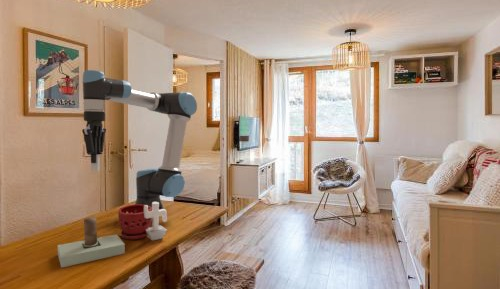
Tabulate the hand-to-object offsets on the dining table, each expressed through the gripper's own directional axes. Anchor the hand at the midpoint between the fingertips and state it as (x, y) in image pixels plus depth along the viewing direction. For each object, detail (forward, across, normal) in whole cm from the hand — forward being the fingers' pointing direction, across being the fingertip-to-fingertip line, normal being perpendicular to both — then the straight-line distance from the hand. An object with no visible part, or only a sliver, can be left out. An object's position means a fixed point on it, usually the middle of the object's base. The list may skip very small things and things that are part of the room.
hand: (95, 170), depth 124 cm
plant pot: (+29, -7, +13) cm, 32 cm away
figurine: (+29, -6, +22) cm, 37 cm away
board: (+28, +12, +5) cm, 31 cm away
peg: (+28, +12, +5) cm, 31 cm away
